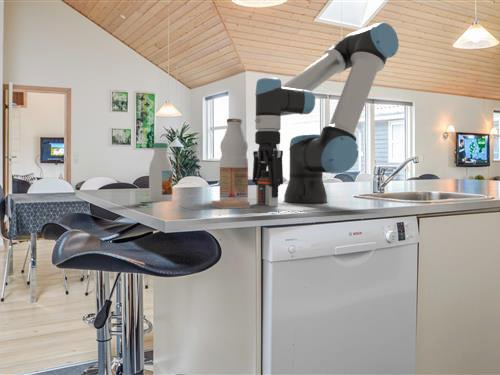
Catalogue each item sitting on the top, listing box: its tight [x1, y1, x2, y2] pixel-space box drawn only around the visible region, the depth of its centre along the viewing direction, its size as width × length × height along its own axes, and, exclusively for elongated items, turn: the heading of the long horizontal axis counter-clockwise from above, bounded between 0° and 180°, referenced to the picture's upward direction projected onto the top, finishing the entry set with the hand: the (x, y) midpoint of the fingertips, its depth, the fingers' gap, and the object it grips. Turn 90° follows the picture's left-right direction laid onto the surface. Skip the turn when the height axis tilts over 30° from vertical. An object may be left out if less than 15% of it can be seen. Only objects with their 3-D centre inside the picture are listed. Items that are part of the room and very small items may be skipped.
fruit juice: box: [219, 118, 249, 202], centre depth 147 cm, size 9×9×28 cm
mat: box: [178, 204, 254, 211], centre depth 126 cm, size 18×13×1 cm
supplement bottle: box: [257, 170, 271, 207], centre depth 134 cm, size 6×6×11 cm
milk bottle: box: [148, 142, 173, 203], centre depth 149 cm, size 8×8×20 cm
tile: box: [211, 200, 250, 210], centre depth 127 cm, size 8×2×8 cm
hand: (266, 207), depth 134 cm, fingers open, 7 cm apart
